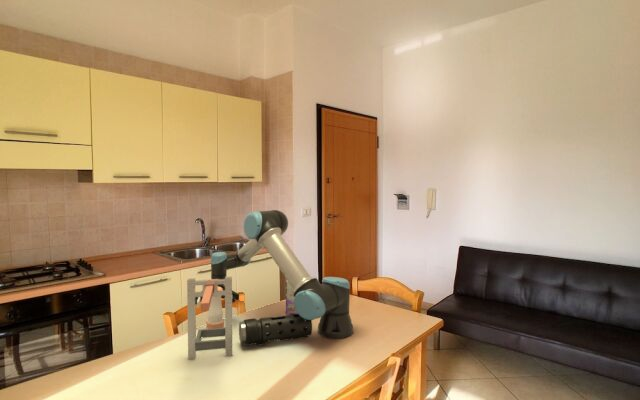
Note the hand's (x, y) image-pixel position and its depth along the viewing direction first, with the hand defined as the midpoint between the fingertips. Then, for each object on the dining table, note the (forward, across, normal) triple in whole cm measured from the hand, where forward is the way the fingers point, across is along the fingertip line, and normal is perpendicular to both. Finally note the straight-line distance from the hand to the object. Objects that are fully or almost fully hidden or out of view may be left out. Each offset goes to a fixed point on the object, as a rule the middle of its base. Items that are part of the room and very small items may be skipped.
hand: (214, 304), depth 154 cm
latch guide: (+22, 0, -12) cm, 25 cm away
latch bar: (+30, 0, +11) cm, 32 cm away
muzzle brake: (+14, -24, -12) cm, 31 cm away
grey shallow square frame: (+10, 0, -12) cm, 15 cm away
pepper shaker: (-3, 0, -12) cm, 13 cm away
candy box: (-14, -39, -12) cm, 44 cm away
